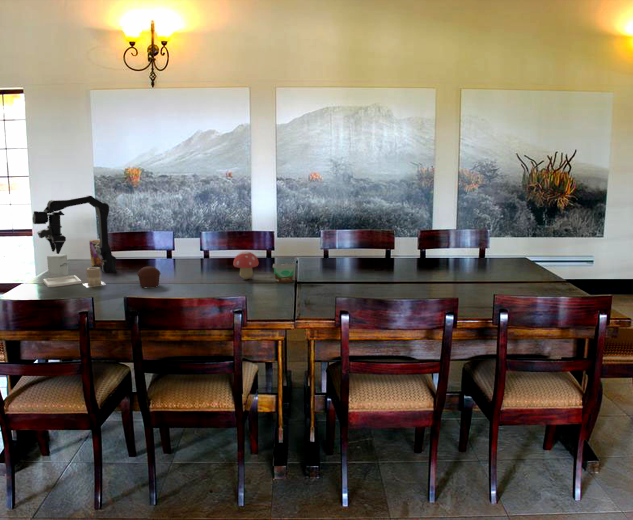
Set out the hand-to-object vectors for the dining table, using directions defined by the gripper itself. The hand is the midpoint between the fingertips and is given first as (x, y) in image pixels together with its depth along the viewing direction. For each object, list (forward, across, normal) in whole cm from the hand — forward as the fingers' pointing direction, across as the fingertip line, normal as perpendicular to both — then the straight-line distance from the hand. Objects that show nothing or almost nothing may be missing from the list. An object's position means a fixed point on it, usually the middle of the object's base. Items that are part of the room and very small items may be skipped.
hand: (55, 252), depth 309 cm
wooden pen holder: (+13, +29, +11) cm, 33 cm away
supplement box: (+15, -2, +2) cm, 15 cm away
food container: (+9, +86, +91) cm, 126 cm away
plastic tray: (+14, +14, 0) cm, 20 cm away
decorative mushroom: (+10, +67, +79) cm, 104 cm away
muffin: (+13, +48, +32) cm, 60 cm away
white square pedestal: (+14, +29, +11) cm, 34 cm away
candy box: (+13, -25, +31) cm, 42 cm away
